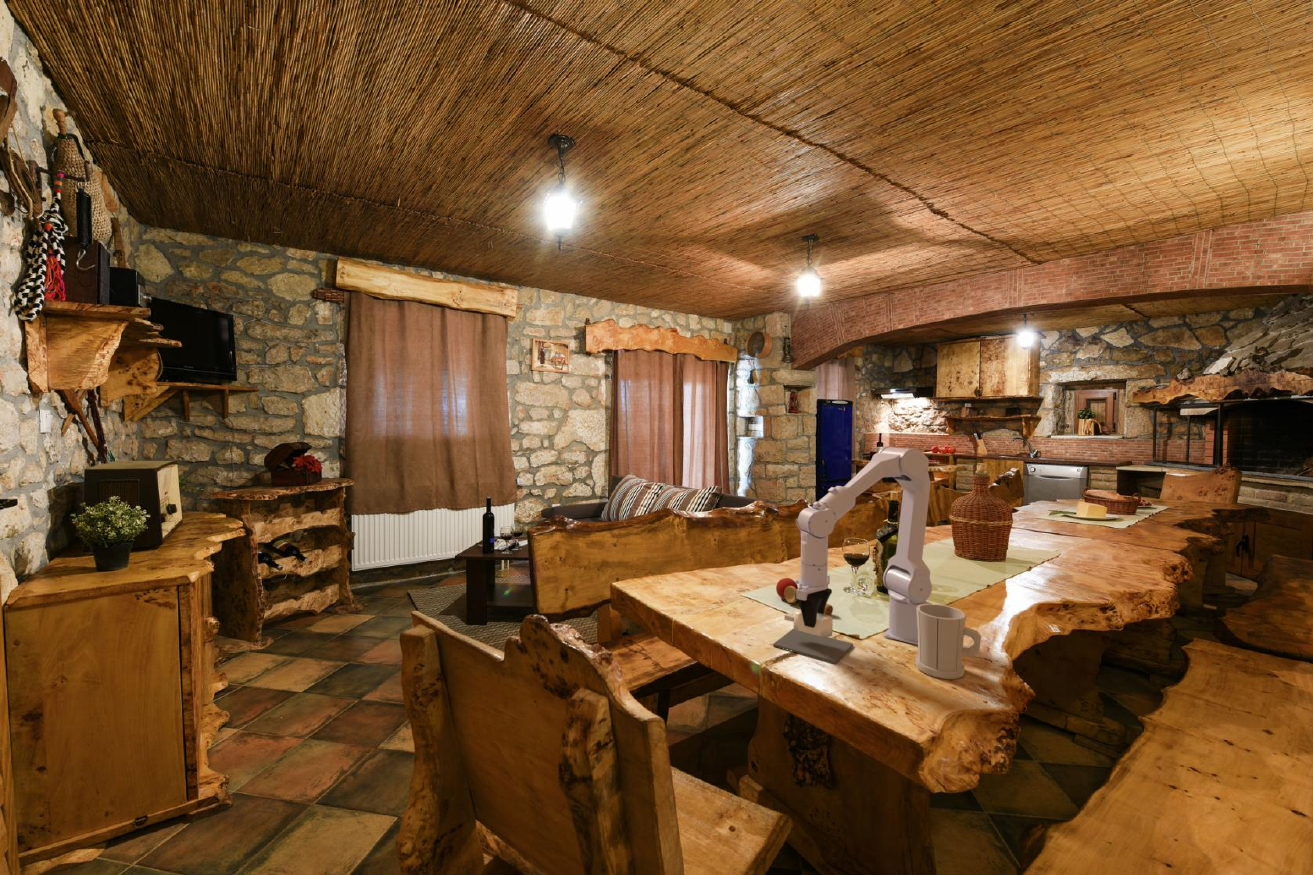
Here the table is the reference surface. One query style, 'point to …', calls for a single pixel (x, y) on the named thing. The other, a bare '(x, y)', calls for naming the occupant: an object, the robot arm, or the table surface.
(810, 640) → the mat
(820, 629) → the block
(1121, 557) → the table surface
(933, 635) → the cup
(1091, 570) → the table surface
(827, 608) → the kendama
